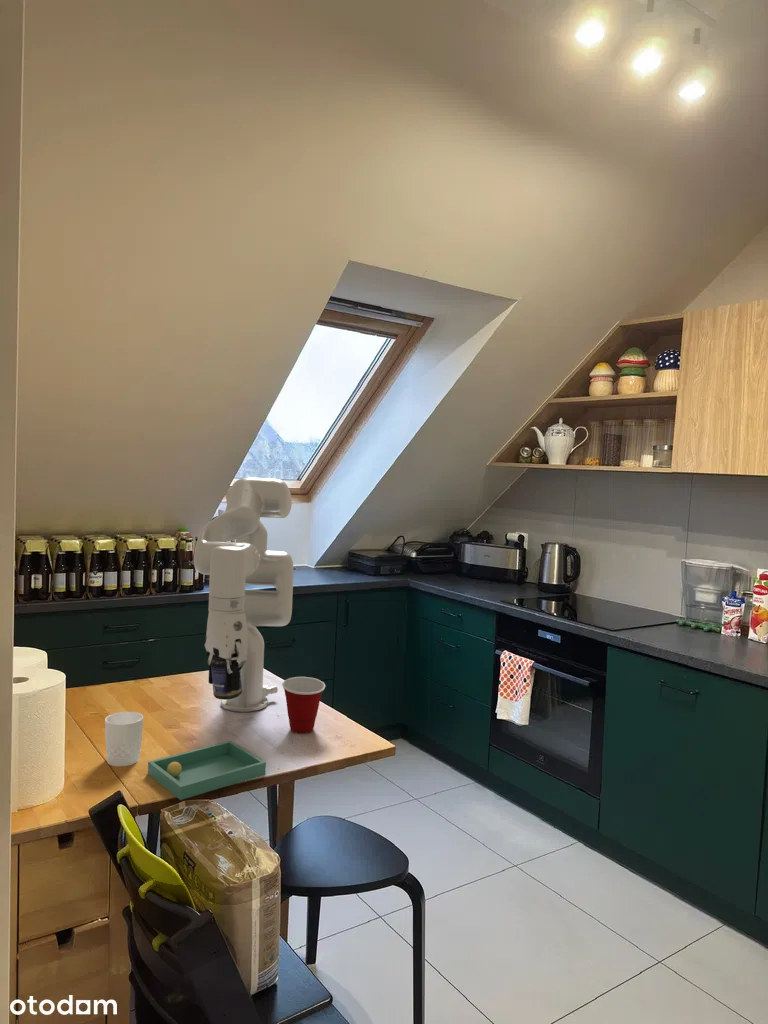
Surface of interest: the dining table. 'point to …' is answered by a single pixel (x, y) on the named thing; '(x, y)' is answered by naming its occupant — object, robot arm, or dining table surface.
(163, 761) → the tray
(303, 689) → the plastic cup
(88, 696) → the dining table surface
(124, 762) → the white cup
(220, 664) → the pill bottle
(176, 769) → the ball
